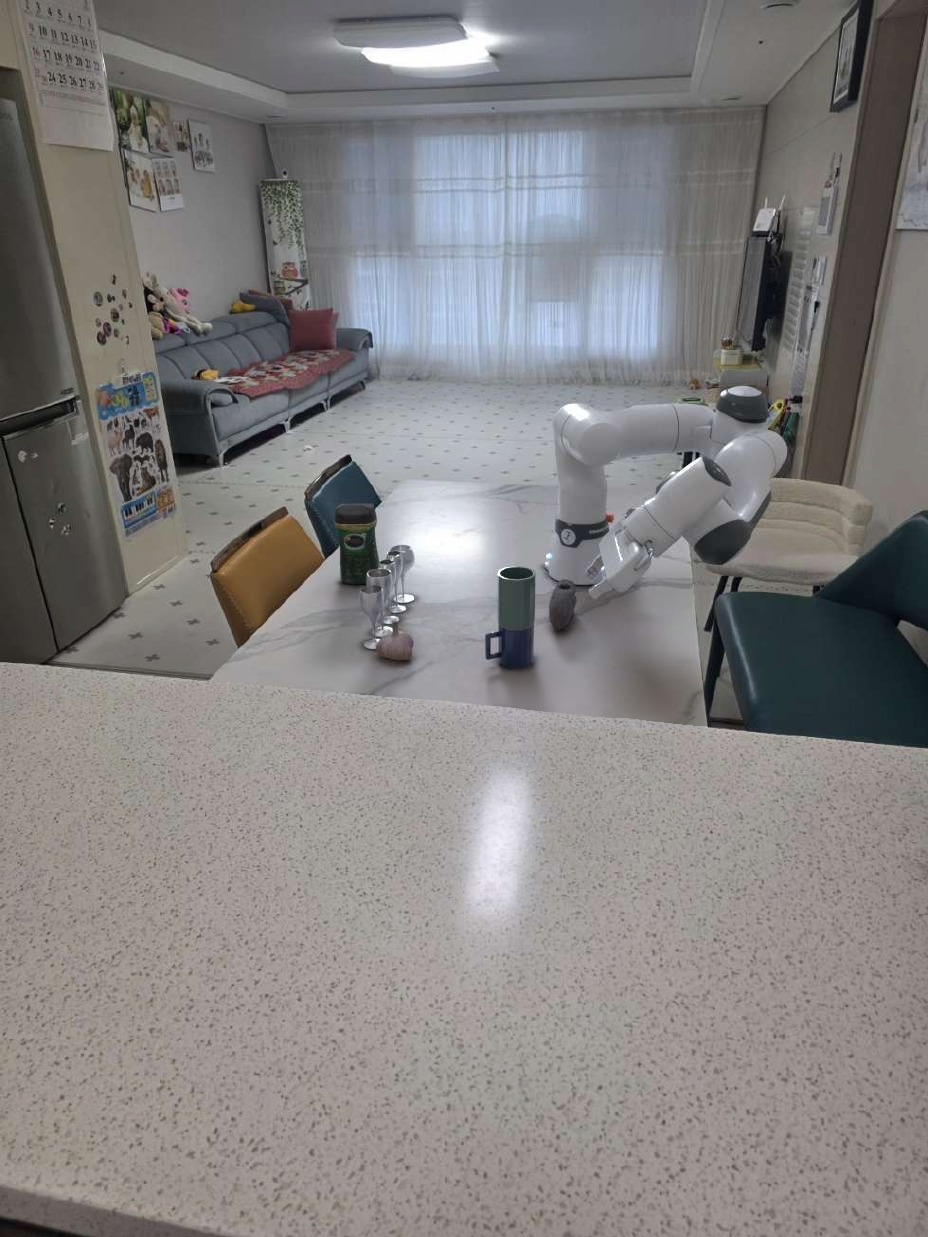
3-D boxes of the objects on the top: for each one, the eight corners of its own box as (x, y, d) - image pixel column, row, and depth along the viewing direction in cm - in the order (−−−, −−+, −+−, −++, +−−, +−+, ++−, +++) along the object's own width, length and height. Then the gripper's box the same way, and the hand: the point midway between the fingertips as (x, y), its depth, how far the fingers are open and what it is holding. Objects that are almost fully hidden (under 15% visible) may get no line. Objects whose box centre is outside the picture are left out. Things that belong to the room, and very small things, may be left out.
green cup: (511, 612, 158) (511, 563, 154) (541, 620, 154) (542, 571, 150) (490, 624, 153) (490, 574, 149) (521, 633, 150) (521, 583, 145)
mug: (523, 650, 161) (523, 612, 158) (539, 664, 156) (540, 626, 152) (478, 659, 158) (478, 622, 154) (493, 674, 152) (492, 636, 149)
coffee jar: (383, 573, 199) (378, 499, 191) (378, 585, 192) (373, 509, 184) (343, 573, 200) (337, 499, 192) (337, 585, 193) (330, 509, 185)
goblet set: (385, 650, 162) (381, 588, 156) (357, 648, 163) (352, 586, 157) (419, 594, 187) (416, 539, 181) (394, 593, 188) (391, 538, 182)
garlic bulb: (417, 663, 157) (415, 625, 154) (379, 667, 156) (376, 629, 152) (411, 645, 164) (409, 609, 160) (374, 649, 162) (371, 613, 159)
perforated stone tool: (567, 638, 166) (568, 606, 163) (541, 635, 167) (542, 603, 164) (579, 608, 179) (580, 578, 176) (555, 605, 180) (555, 576, 177)
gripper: (668, 566, 136) (606, 620, 141) (651, 527, 154) (597, 576, 159) (642, 540, 134) (580, 595, 139) (628, 504, 153) (574, 554, 158)
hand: (589, 585), depth 149 cm, fingers open, 8 cm apart
